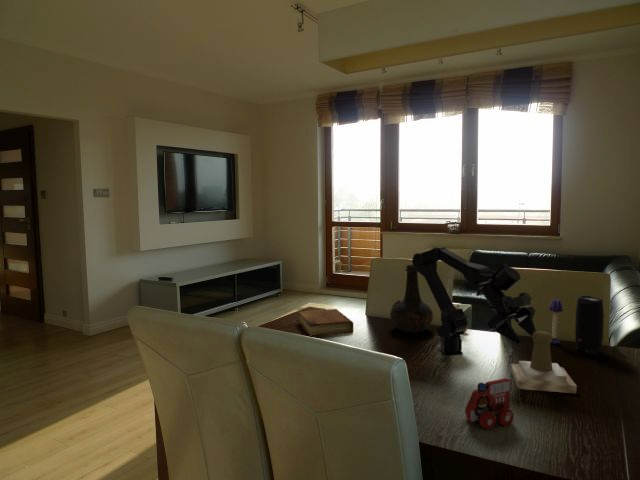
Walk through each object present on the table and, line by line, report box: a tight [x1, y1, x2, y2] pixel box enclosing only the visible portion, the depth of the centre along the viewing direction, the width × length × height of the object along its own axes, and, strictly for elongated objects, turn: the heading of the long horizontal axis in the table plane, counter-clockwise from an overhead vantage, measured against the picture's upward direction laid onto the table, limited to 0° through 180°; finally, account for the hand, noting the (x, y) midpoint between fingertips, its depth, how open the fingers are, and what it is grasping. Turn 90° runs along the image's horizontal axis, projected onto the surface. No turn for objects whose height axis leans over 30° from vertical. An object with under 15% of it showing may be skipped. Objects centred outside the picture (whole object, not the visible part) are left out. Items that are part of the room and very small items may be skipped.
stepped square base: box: [510, 360, 577, 394], centre depth 136 cm, size 15×15×4 cm
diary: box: [298, 308, 354, 336], centre depth 200 cm, size 23×19×6 cm
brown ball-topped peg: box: [530, 330, 553, 372], centre depth 136 cm, size 6×6×11 cm
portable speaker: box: [574, 295, 605, 355], centre depth 162 cm, size 9×9×20 cm
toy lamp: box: [548, 298, 564, 345], centre depth 172 cm, size 5×5×17 cm
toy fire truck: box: [464, 377, 515, 430], centre depth 111 cm, size 7×12×10 cm, turn 109°
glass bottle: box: [389, 264, 434, 334], centre depth 193 cm, size 18×18×28 cm
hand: (528, 340), depth 139 cm, fingers open, 9 cm apart
